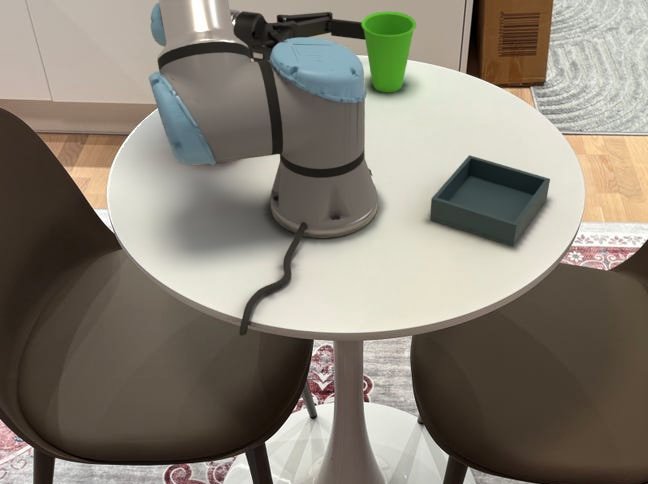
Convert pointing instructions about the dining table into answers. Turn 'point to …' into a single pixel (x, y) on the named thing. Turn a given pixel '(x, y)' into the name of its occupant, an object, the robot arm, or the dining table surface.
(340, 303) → the dining table surface
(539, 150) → the dining table surface
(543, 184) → the holder
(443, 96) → the dining table surface
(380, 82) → the cup
